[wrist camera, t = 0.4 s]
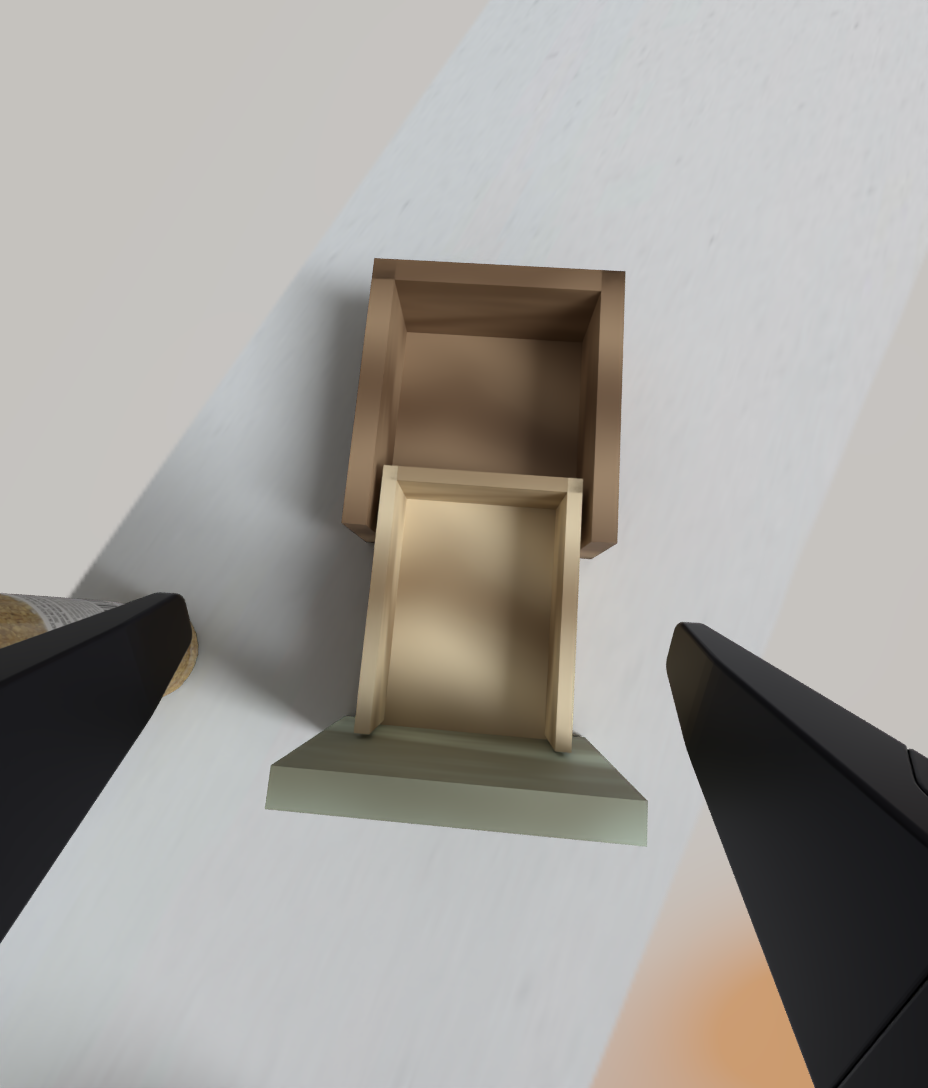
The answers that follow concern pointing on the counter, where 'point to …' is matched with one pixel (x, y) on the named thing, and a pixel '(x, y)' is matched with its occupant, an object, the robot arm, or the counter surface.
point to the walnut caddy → (491, 381)
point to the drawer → (468, 671)
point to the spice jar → (33, 615)
